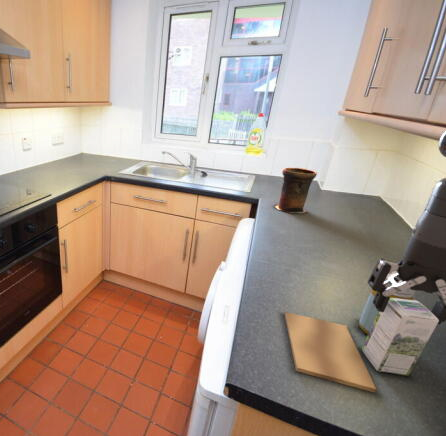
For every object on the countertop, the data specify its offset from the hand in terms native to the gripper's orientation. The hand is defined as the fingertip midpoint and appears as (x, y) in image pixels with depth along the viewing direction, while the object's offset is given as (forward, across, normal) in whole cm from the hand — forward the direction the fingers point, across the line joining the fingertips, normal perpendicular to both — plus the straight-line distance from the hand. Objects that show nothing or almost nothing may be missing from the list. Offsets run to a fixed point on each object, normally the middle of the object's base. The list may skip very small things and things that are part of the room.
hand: (405, 315), depth 57 cm
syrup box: (+12, 0, 0) cm, 13 cm away
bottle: (+12, +2, +11) cm, 17 cm away
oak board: (+12, -11, 0) cm, 16 cm away
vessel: (+12, -4, +101) cm, 102 cm away
